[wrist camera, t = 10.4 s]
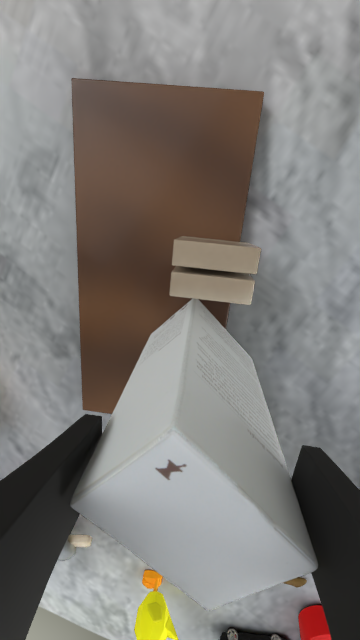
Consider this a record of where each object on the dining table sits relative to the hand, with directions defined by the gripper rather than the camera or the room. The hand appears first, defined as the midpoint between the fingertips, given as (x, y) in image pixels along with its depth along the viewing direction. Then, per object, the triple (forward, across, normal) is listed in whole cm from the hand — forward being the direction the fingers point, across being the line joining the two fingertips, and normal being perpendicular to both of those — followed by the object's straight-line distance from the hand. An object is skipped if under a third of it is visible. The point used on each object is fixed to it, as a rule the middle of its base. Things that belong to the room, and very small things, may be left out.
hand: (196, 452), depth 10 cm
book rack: (+10, +4, -4) cm, 11 cm away
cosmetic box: (+9, 0, 0) cm, 9 cm away
